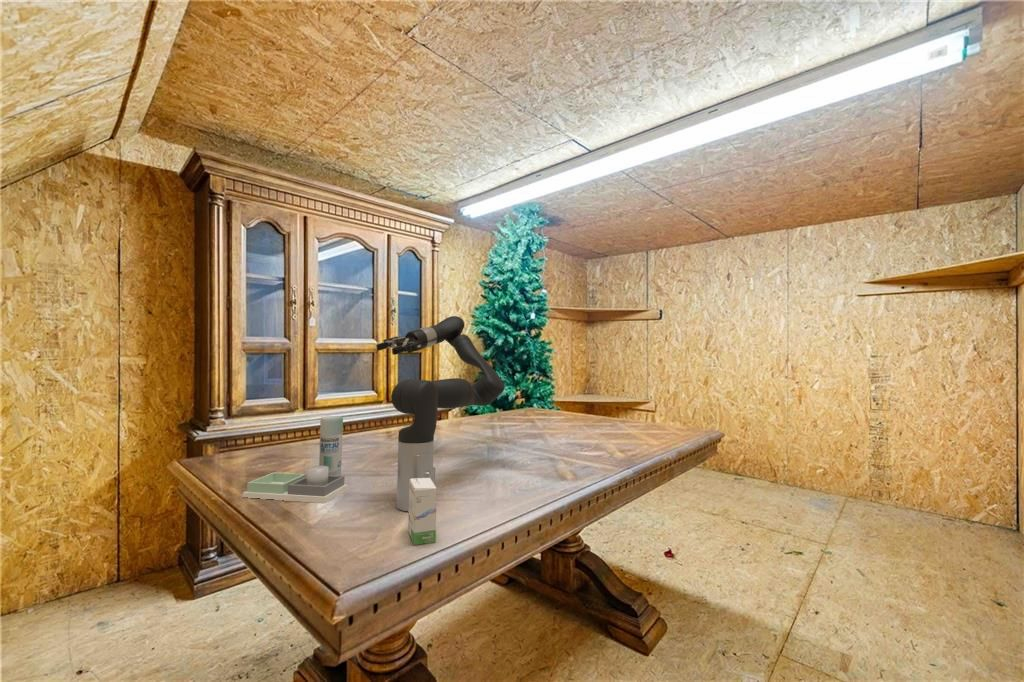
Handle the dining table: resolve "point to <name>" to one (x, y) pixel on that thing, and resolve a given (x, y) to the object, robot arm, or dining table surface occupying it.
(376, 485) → the dining table surface
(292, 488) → the double tray
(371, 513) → the dining table surface
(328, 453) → the spray paint can
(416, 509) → the ink box
